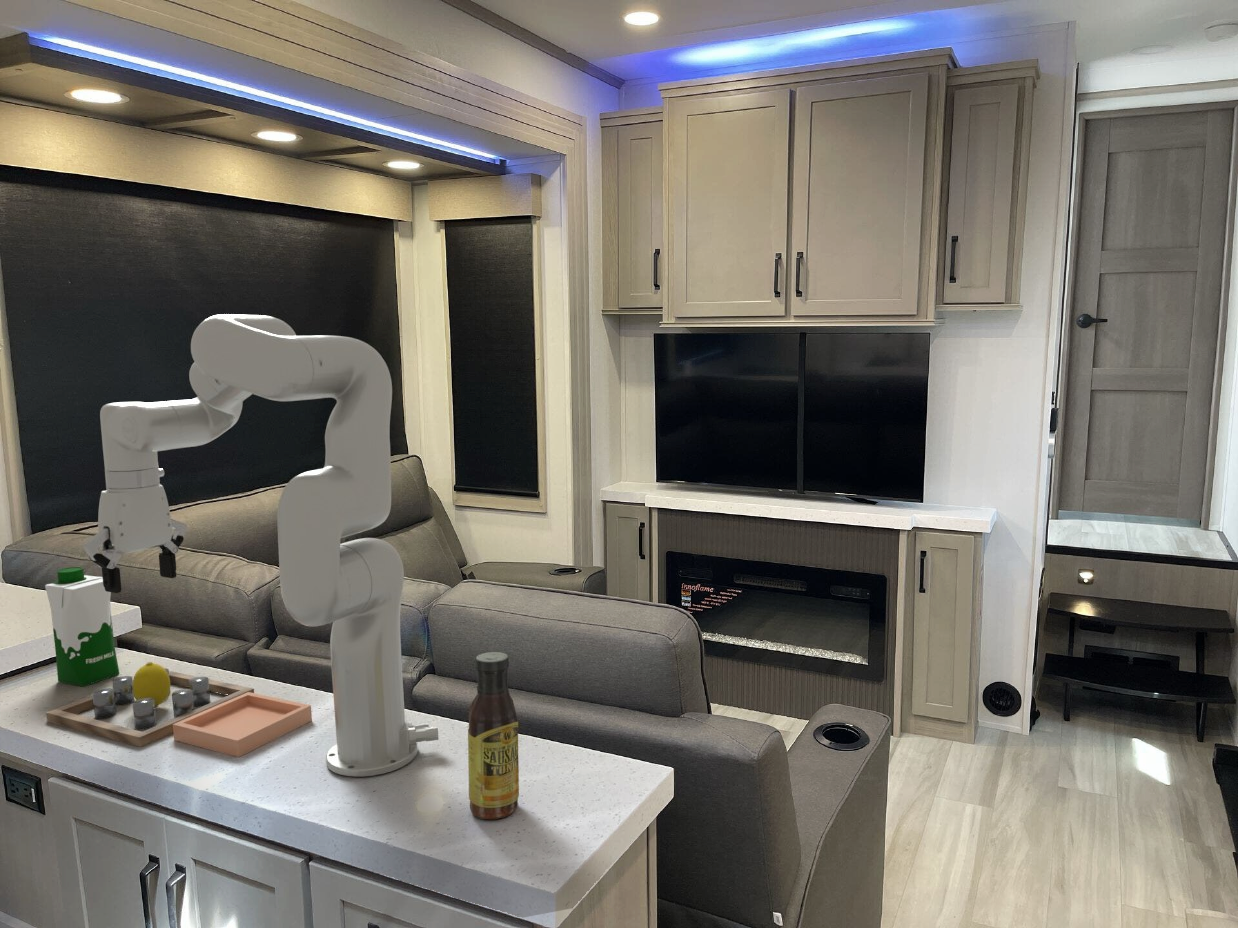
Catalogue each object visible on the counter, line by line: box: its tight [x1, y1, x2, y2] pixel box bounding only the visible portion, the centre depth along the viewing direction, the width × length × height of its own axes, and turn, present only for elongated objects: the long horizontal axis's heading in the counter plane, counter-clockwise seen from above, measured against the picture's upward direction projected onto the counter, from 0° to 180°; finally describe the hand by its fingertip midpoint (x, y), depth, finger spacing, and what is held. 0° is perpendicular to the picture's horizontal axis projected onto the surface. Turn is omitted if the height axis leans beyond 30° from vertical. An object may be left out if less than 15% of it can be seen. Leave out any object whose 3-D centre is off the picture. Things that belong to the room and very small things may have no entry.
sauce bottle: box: [467, 651, 520, 820], centre depth 112 cm, size 7×6×20 cm
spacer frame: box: [45, 670, 255, 748], centre depth 148 cm, size 23×21×2 cm
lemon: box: [132, 661, 171, 710], centre depth 148 cm, size 6×6×8 cm
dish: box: [172, 692, 313, 758], centre depth 139 cm, size 14×14×2 cm
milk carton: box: [44, 566, 120, 687], centre depth 162 cm, size 9×9×20 cm
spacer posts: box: [92, 667, 211, 731], centre depth 148 cm, size 18×13×4 cm
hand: (141, 584), depth 146 cm, fingers open, 9 cm apart
